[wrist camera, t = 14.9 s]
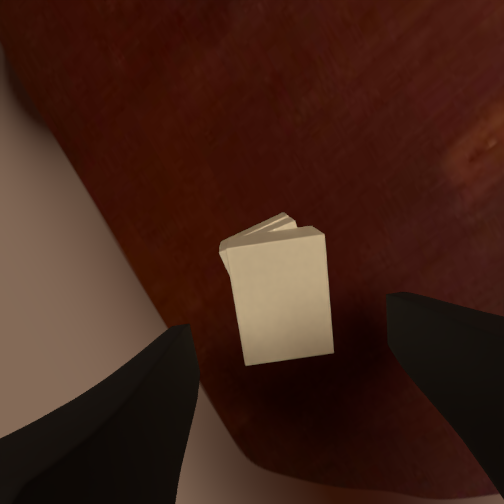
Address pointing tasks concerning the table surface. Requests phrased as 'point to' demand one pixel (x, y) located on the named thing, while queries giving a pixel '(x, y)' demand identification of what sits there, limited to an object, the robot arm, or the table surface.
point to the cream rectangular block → (281, 294)
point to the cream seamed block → (260, 231)
